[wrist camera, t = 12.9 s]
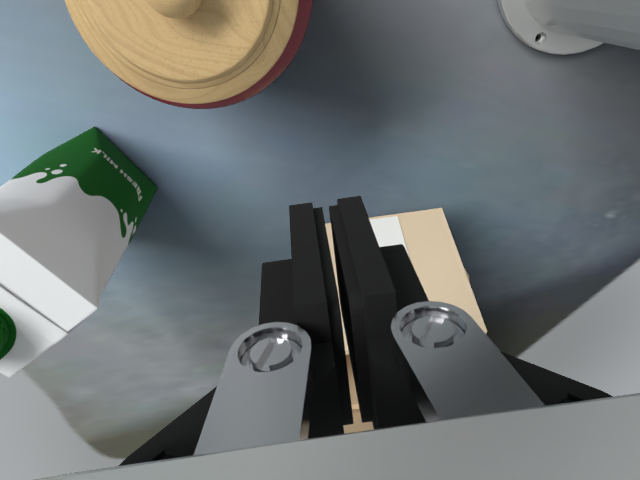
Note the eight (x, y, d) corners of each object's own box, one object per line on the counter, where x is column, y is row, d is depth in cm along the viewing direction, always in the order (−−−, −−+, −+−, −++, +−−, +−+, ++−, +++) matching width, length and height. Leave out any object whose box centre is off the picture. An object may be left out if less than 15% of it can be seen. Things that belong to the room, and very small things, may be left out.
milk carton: (22, 176, 42) (-162, 322, 24) (95, 109, 40) (-50, 217, 22) (104, 245, 46) (-5, 416, 28) (174, 187, 43) (104, 333, 26)
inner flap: (440, 212, 42) (441, 207, 41) (485, 335, 34) (487, 330, 34) (299, 231, 41) (298, 226, 41) (313, 359, 34) (312, 354, 34)
